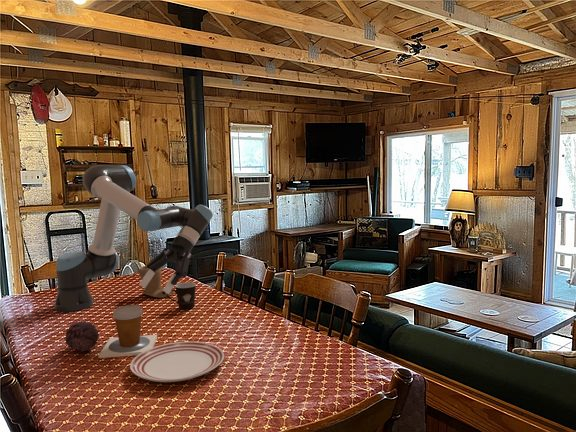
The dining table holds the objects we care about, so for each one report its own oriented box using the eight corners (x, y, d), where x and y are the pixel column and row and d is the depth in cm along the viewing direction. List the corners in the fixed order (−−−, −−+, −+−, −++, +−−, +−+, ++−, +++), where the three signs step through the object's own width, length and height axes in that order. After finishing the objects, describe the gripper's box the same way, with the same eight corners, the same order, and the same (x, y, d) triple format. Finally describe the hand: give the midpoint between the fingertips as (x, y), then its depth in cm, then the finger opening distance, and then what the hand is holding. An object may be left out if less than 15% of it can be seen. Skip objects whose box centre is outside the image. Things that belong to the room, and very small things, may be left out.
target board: (98, 358, 137) (98, 354, 137) (110, 340, 151) (110, 337, 150) (150, 354, 139) (150, 350, 139) (157, 337, 153) (157, 334, 153)
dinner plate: (150, 348, 144) (149, 339, 143) (231, 348, 143) (230, 339, 142) (114, 391, 117) (113, 379, 116) (214, 391, 116) (213, 380, 115)
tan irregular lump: (135, 295, 205) (134, 264, 203) (158, 289, 213) (157, 260, 212) (151, 301, 194) (149, 269, 193) (174, 295, 203) (173, 264, 201)
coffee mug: (199, 304, 189) (198, 282, 188) (193, 311, 180) (192, 288, 179) (173, 304, 190) (172, 282, 189) (166, 310, 182) (165, 287, 180)
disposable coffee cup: (150, 339, 148) (148, 306, 146) (132, 351, 139) (129, 315, 137) (127, 336, 151) (125, 303, 150) (108, 347, 142) (106, 312, 141)
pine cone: (105, 356, 138) (103, 326, 137) (71, 365, 132) (69, 333, 131) (93, 339, 152) (91, 311, 151) (62, 346, 146) (60, 318, 145)
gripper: (213, 250, 156) (182, 300, 146) (170, 243, 171) (139, 288, 161) (202, 237, 152) (169, 289, 141) (158, 232, 167) (126, 278, 156)
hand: (153, 289), depth 151 cm, fingers open, 13 cm apart
